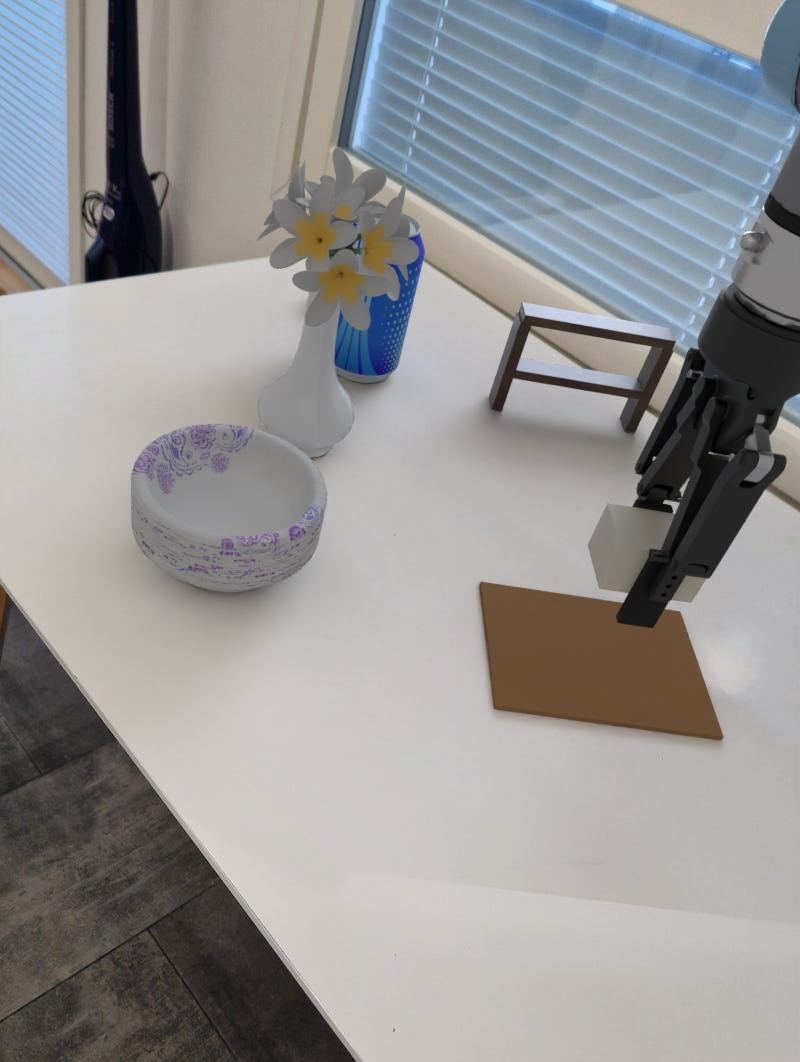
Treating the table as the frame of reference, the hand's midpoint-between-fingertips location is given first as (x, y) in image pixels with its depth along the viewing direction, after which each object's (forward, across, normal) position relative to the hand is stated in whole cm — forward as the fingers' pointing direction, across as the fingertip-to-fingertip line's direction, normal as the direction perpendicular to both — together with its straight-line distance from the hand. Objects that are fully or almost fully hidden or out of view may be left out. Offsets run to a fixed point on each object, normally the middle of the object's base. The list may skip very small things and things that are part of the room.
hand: (627, 595), depth 68 cm
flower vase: (+7, -24, -25) cm, 35 cm away
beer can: (+7, -41, -20) cm, 46 cm away
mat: (+7, 0, 0) cm, 7 cm away
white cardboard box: (-2, 0, 0) cm, 2 cm away
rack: (+7, -38, +3) cm, 39 cm away
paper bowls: (+7, -6, -31) cm, 32 cm away
